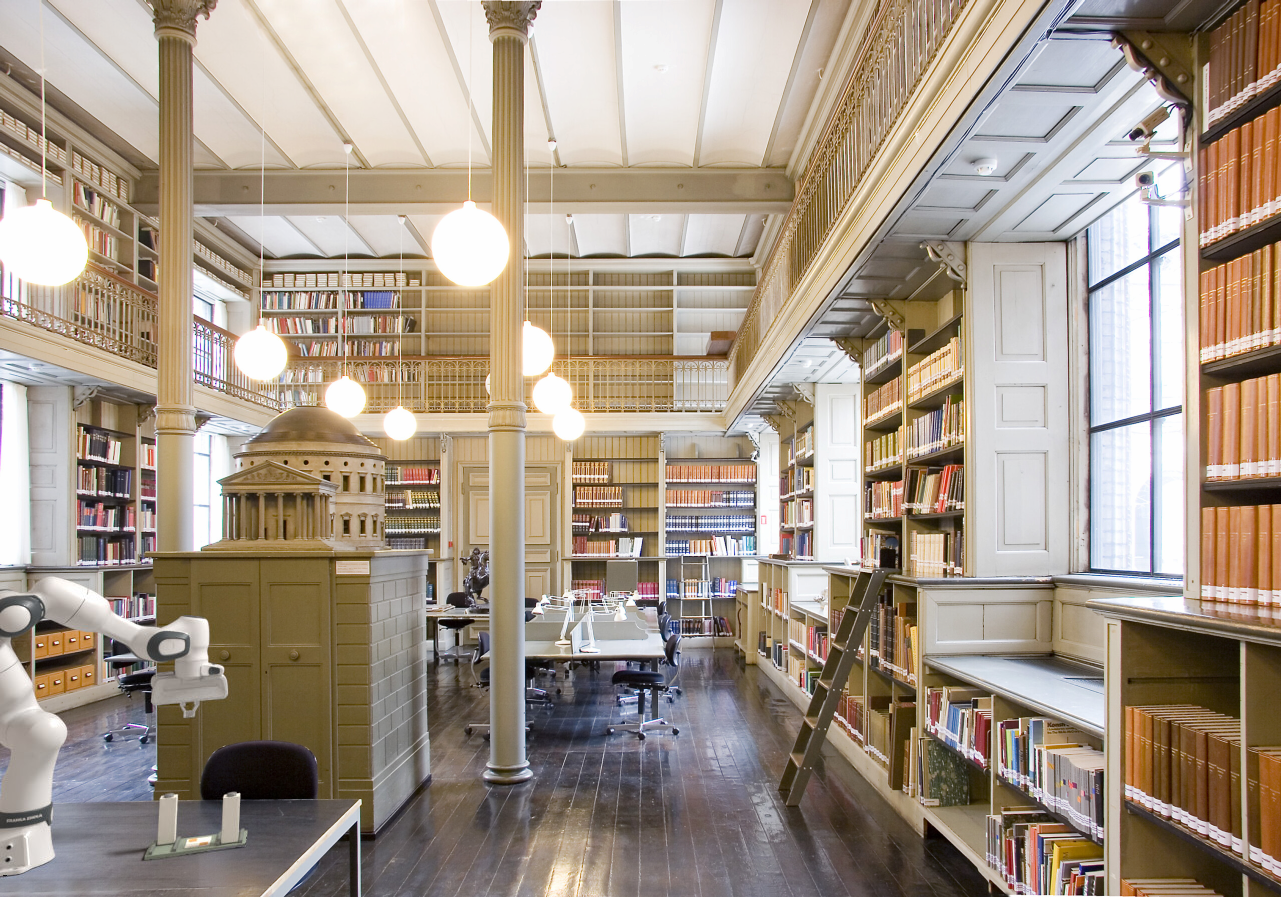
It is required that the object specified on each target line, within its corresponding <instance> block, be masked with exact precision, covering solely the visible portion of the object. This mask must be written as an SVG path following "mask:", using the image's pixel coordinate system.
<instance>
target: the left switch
mask: <svg viewBox="0 0 1281 897" xmlns="http://www.w3.org/2000/svg"><path fill="white" fill-rule="evenodd" d="M178 796H179V794H175V793H174V792H169V793H168V792H167V793H165V794H164V795H161V796H160V798H159V810H158V811H159V812H158V830H157V839H158V845H161V844H169V843H174V842H175V840H176V839H177V819H178V817H177V816H178V801H179V797H178Z"/></svg>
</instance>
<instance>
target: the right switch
mask: <svg viewBox="0 0 1281 897" xmlns="http://www.w3.org/2000/svg"><path fill="white" fill-rule="evenodd" d="M222 799H223V800H222V817H221V818H222V821H221V831H222V840H221V844H223V843H231V842H238V833H239V831H240V830H239V829H240V828H239V827H240V826H239V825H240V807H241V806H240V805H241V804H240V803H241V793H240V792H239V793H237V791H231V792H227V793H226V794H224V795H223V797H222Z"/></svg>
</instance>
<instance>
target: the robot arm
mask: <svg viewBox="0 0 1281 897" xmlns="http://www.w3.org/2000/svg"><path fill="white" fill-rule="evenodd" d="M43 619H47V620H51V621H53V622H55V623H58V624H59V625H62V626H64V627H67V628H70V629H72V630H76V631H81V632H85V633H97V634H101V635H103V636H106V637H107V638H110V639H112V640H113V641H114V640H115V641H117V642H119V643H121V644H123V645H125V647H126V648H127V649H129V651H130V652H131V653H132V655H133V656H134V657H136V658H137V659H139V660H143V661H150V662H154V663H166V662H170V661H173V660H175V661H174V670H173V671H171V670H170V671H165V672H161V671H160V672H157V673H155V674H154V675H153V676H152V677H151V679H150V686H151V688H152V691H151V699H150V702H151V704H152V705H153V706H162V705H170V704H171V705H172V704H179V707H180V708H181V710H182V712H183V718H184V719H185V718H186V719H187V718H195V717H196V711H197V709H198V708H199V706H200V704H201V703H200V702H203V701H212V700H222V699H223V700H224V699H226V698H227V697H228V695H229V691H228V690H229V689H228V687H229V686H228V680H227V677H226V675H224V672H225V667H224V666H223V665H222V664H217V663H212V662H209V655H208V648H209V646H210V625H209V621H208V620H207V618H205V617H203V616H198V615H189V614H185V615H181V616H179V618H177V619H176V620H174V621H172V622H170V623H169V624H167V625H164V626H162V627H159V626H155V625H140V624H138V623H137V624H136V623H135V622H134V621H133V622H132V621H131V620H129V619H127V618H125V617H123V616H120V615H118V614H116V613H115V612H114V611H113V610H112V609H111V604H110V602H109V600H108V599H106V598H105V597H104V596H102V595H100V594H99V593H98V592H96V591H94V590H92V589H90V588H88V587H86V586H84V585H81V584H79V583H77V582H74V581H71V580H67V579H65V578H61V577H56V576H46V577H44V578H41V579H40V580H38V581H37V582H36V583H35V584H33V585H32V587H31V589H29V590H28V591H27V592H23V593H22V592H17V591H15V590H12V589H9V588H3V589H0V744H1V746H3V747H4V748H7V749H10V752H11V753H10V758H9V759H10V760H9V762H8V766H7V769H6V771H5V774H4V775H3V777H2V778H1V782H0V783H1V785H0V877H4V876H3V875H7V876H13V875H21V874H23V873H26V872H27V871H29V870H31V869H34V868H37V867H40V866H42V865H44V864H46V863H48V862H51V861H52V860H54V858H56V853H55V849H54V846H53V841H52V832H51V831H52V830H51V827H52V826H51V825H52V823H53V818H54V816H53V815H54V806H53V805H54V802H53V801H52V796H53V794H52V791H53V782H54V781H53V780H54V772H55V767H56V764H57V759H58V757H59V753H60V749H61V747H62V746H63V745H64V743H65V742H66V740H67V737H68V727H67V725H66V723H64V721H63V719H61V717H60V716H58V715H57V714H55V713H51V712H48V711H45V710H43V708H41V706H40V704H39V703H38V701H37V698H36V695H35V692H34V683H33V681H32V680H31V678H30V675H29V674H28V673H27V671H26V670H25V668H24V665H22V663H21V661H20V660H19V658H18V656H17V655H16V652H15V651H14V649H13V647H12V644H11V642H12V641H11V640H12V638H16V637H20V636H21V635H24V634H25V633H27V632H28V631H30V630H31V629H32V628H33V627H34V626H36V625H37V624H38V623H40V622H41V621H42V620H43ZM192 702H193V704H194V706H193V708H192V710H191V709H190V710H187V709H186V708H185V707H186V703H192Z"/></svg>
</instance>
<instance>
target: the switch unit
mask: <svg viewBox="0 0 1281 897" xmlns="http://www.w3.org/2000/svg"><path fill="white" fill-rule="evenodd" d="M248 831H249V830H245V828H243V827H242V828H241V829H240V830H239V833H238V842H231V843H223V844H221V840H222V830H221V831H220V830H219V832H218V833H216V834H208V835H207V834H206V835H199V836H193V837H192V836H191V837H184V838H182V835H181V836H180V835H179V836H176V840H175V842H174V843H169V844H161V845H158V838H155V839H154V840H153V841H151V842H150V845H149V847H148V849H147V850H146V853H145V855H144V861H150V859H152V860H158V859H166V857H167V858H173V856H174V857H180V856H179V855H182V856H187V855H186V854H189V855H192V854H191V853H196V852H202V851H207V850H212V849H218V848H224V847H231V846H237V845H243V844H245V843H246V844H247V839H246V837H247V838H248Z"/></svg>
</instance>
